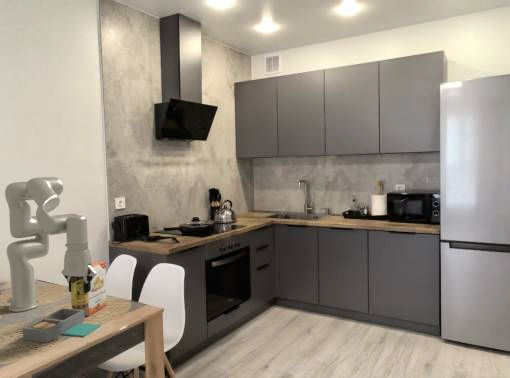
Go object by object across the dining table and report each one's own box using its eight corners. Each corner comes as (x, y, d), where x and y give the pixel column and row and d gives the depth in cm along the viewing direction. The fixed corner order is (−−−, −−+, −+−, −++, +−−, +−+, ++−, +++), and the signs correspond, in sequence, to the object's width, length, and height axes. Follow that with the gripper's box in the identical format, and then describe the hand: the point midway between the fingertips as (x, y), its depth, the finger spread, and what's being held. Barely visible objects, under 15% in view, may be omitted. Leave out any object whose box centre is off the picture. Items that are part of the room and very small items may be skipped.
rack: (23, 339, 149) (22, 328, 149) (62, 318, 170) (62, 308, 169) (47, 342, 147) (46, 330, 146) (84, 320, 167) (84, 310, 167)
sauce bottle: (77, 311, 152) (75, 261, 151) (68, 308, 155) (65, 259, 154) (92, 306, 157) (90, 257, 156) (83, 303, 161) (80, 255, 159)
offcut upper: (32, 332, 152) (31, 326, 152) (43, 327, 157) (43, 321, 156) (45, 335, 149) (45, 329, 149) (57, 329, 154) (56, 324, 154)
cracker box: (89, 316, 171) (87, 269, 170) (77, 315, 172) (75, 269, 171) (107, 305, 185) (106, 261, 184) (96, 304, 186) (94, 261, 185)
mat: (62, 334, 153) (62, 333, 153) (79, 324, 163) (79, 323, 163) (84, 337, 151) (84, 335, 151) (100, 326, 161) (100, 325, 161)
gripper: (52, 248, 153) (54, 293, 154) (90, 249, 149) (92, 296, 150) (65, 244, 160) (68, 287, 162) (102, 245, 156) (104, 289, 157)
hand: (79, 291), depth 156 cm, fingers closed on sauce bottle, 6 cm apart
